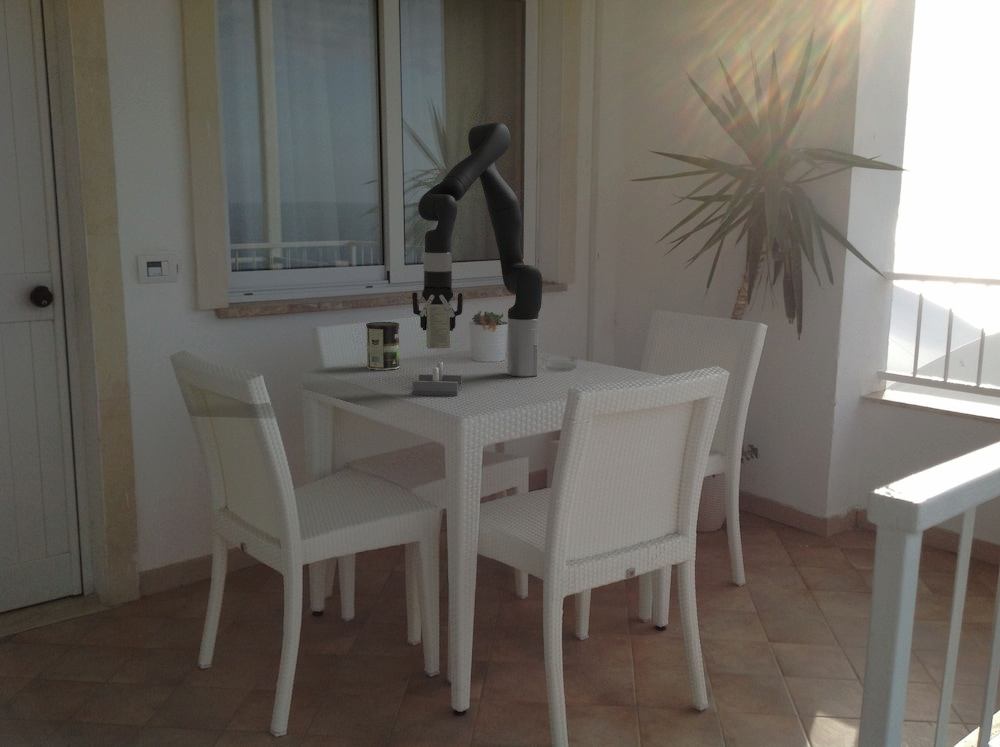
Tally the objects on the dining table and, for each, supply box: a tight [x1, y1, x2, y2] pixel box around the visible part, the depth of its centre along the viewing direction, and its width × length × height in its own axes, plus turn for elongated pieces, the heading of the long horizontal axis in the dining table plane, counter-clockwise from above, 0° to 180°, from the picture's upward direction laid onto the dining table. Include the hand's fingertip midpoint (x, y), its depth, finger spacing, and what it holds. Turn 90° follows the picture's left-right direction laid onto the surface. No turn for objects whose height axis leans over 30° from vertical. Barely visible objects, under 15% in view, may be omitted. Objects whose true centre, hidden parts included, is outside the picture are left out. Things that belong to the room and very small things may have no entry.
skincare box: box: [425, 303, 451, 349], centre depth 257 cm, size 6×4×12 cm
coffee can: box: [365, 321, 400, 371], centre depth 295 cm, size 10×10×14 cm
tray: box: [412, 361, 463, 397], centre depth 260 cm, size 12×12×7 cm
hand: (437, 330), depth 258 cm, fingers closed on skincare box, 7 cm apart
